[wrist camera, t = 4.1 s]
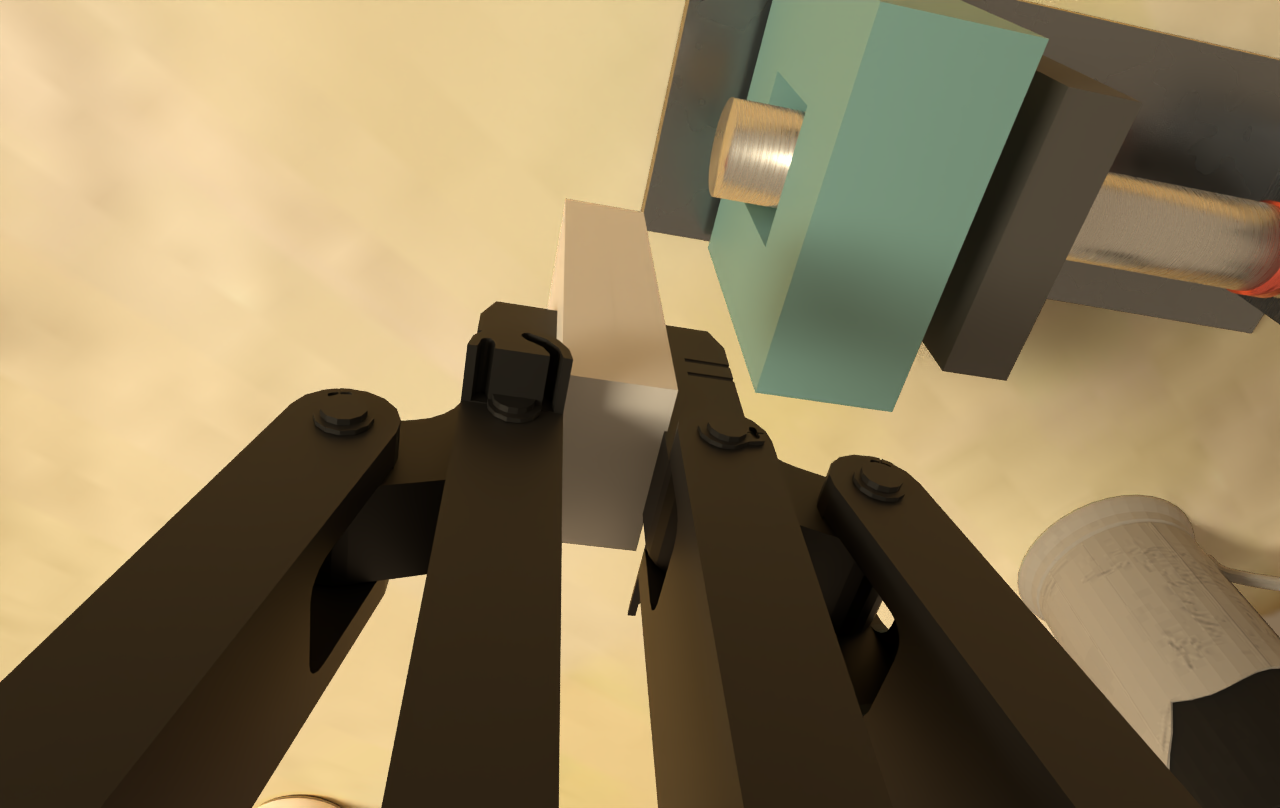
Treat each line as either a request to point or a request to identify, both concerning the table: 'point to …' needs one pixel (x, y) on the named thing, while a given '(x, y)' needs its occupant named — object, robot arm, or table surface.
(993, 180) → the dark gray square plate
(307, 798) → the can
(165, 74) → the table surface
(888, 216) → the green block with hole
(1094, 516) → the glass holder
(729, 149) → the grey piece
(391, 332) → the table surface
